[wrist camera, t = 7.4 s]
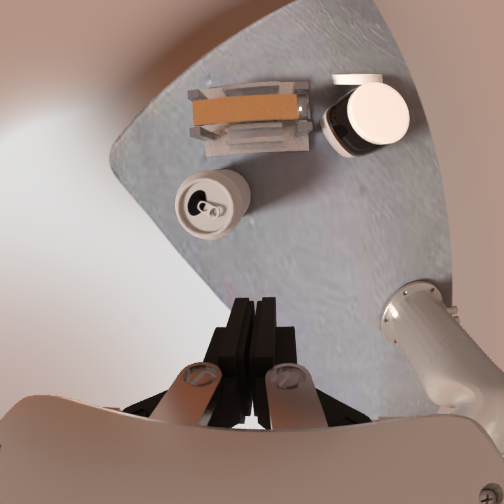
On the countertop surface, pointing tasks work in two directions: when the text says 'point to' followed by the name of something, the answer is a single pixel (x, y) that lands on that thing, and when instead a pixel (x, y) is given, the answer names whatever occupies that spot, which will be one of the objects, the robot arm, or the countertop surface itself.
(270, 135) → the gray slatted rack
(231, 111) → the orange brown bar
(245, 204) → the can
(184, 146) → the countertop surface
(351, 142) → the spread jar
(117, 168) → the countertop surface
